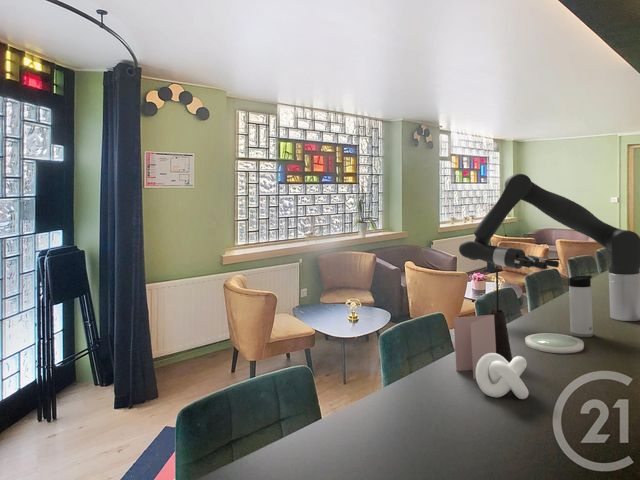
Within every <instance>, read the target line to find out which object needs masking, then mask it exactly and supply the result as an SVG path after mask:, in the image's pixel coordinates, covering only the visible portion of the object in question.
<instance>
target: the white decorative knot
mask: <svg viewBox="0 0 640 480" xmlns="http://www.w3.org/2000/svg"><path fill="white" fill-rule="evenodd" d="M527 364H528V363H527V360H526V359H525V357H523V356H521V355H516V356H514V357H512V360H511V362H508V361H507V360H506V359H505V358H504V357H502V356H501V355H499V354H496V353H488V354H485V355H484V356H482V357H481V358H480V360H479V361H478V363H477V366H476V379H475V380H476V383H477V385H478V387H479V388H480V390H481V391H482V392H483V393H484V394H485V395H487V396H489V397H492V398H501V397H503V396H505V395H507V394H508V393H509V392H510V391H512V393H513V394H514V396H515V397H516V398H518V399H520V400H525V399H527V398H528V396H529V389H528V388H527V386H526V385H525V383H524V381H523V380H522V379H521V378H520V377H521V376H522V374H523V373H524V371H525V370H526V368H527V366H528V365H527Z"/></svg>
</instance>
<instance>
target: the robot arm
mask: <svg viewBox="0 0 640 480" xmlns="http://www.w3.org/2000/svg"><path fill="white" fill-rule="evenodd" d="M521 200H522V201H524V202H525V203H527V204H530V205H532V206H534V207H535V208H537V209H538V210H539V211H540V212H541V213H543V214H545V215H547V216H548V217H549V218H551V219H553V220H554V221H556V222H558V224H559V223H560V224H561V225H563V226H565V227H567V228H569V229H571V230H574V231H576V232H577V233H580V234H582V235H585V236H587V238H588V237H589V238H590V239H592V240H593V241H595V242H597V244H599V245H601V246H602V247H604V248H605V249H606V250H608V251H610V253H611V260H610V261H611V262H610V263H609V265H608V287H609V290H608V291H609V313H610V314H609V315H610V316H609V317H610V318H611V320H612V319H613V320H615V321H623V322H637V321H640V236H639V235H638V233H636V232H635V231H632V230H627V229H622V228H621V229H620V228H618V227H616V226H613V225H610V224H608V223H607V222H604V221H602V220H600V219H599V218H598V217H597V216H595V215H594V213H593V212H591V211H589V210H588V209H587V208H586V207H584V206H583V205H581V204H579V203H577V202H575V201H573V200H571V199H569V198H567V197H565V196H563V195H560V194H557V193H555V192H551V191H549V190H546V189H544V188H542V187H541V186H539V185H538V184H536V183H535V182H533V181H532V180H531V178H530V177H529V176H528V175H526V174H523V173H515V174H511V175H510V176H509V177H507V179H506V180H505V182H504V190H503V191H502V193H501V195H500V197H499V198H498V200H497V201H496V202H495V204H494V205H493V206H492V208H491V209H490V210H489V211H488V213H487V214H486V215H485V216H484V217H483V218H482V220H481V221H480V223H479V224H478V225H477V226H476V228H475V230H474V232H473V234H474V236H475V239H474V240H465V241H463V242H461V244H460V245H459V246H458V252H459V254H460V255H461V257H464V258H466V259H469V260H471V261H478V260H480V261H483V262H485V263H489V264H494V265H498V266H502V267H505V268H511V269H514V270H520V269H522V268H523V267H525V268H528V269H529V268H533V269H534V268H536V269H542V270H547V269H548V267H551V268H553V267H554V268H559V265H560V262H559V261H558V260H552V259H550V258H549V257H543V256H538V255H531V254H528V255H526V253H525V251H524V250H523V249H519V248H514V247H508V246H507V247H506V246H497V245H490V244H489V243H490V240H491V239H492V237H493V236H494V235H495V234H496V232H497V231H498V230H499V228H500V227H501V225H502V224H503V222H504V221H505V220H506V218H507V216H508V215H510V212H511V211H512V210H513V209H514V208H515V207H516V205H517V204H518V203H519V202H521ZM543 261H544V262H543Z"/></svg>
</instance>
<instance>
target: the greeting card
mask: <svg viewBox="0 0 640 480" xmlns="http://www.w3.org/2000/svg"><path fill="white" fill-rule="evenodd" d="M453 333H454V335H453V336H454V351H455V352H454V353H455V365H456V367H455V370H456V372H460V371H471V370H472V377H473V380H476V366H477V363H478V361H479V360H480V358H481V357H482V356H484V355H485V354H488V353H496V342H495V322H494V315H490V314H487V315H486V314H485V315H470V316H462V317H461V316H459V317H457V316H456V317H453Z"/></svg>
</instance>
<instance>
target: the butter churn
mask: <svg viewBox="0 0 640 480" xmlns="http://www.w3.org/2000/svg"><path fill="white" fill-rule="evenodd" d="M498 269H499V265H498V266H497V265H496V266H495V286H496V291H495V292H496V307H492V308H491V309H490V311H489V315H494V322H495V342H496V354H499V355H501V356H502V357H504V358H505V359H506V360H507V361H508V362H509V363H510V362H511V360H512V359H513V357H512V349H511V345H510V344H511V343H510V337H509V333H508V327H507V321H506V314H505V310H502V309H499V270H498Z"/></svg>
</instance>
